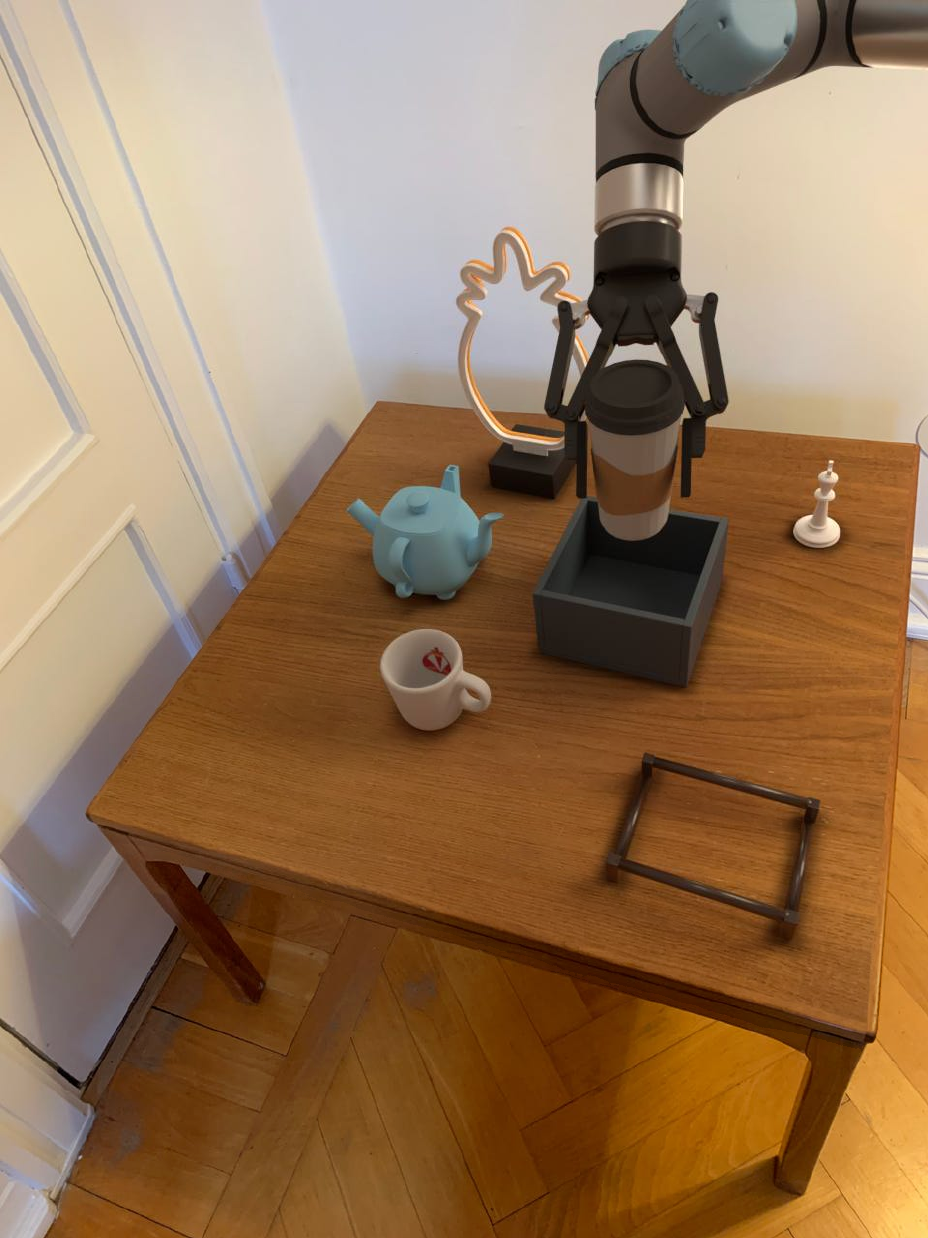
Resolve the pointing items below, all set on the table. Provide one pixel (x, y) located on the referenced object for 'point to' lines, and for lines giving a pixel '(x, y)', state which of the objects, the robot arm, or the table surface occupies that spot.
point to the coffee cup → (634, 444)
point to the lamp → (526, 451)
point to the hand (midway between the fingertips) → (632, 496)
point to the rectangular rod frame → (784, 916)
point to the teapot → (427, 538)
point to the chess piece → (820, 515)
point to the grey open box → (631, 594)
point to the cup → (430, 679)
